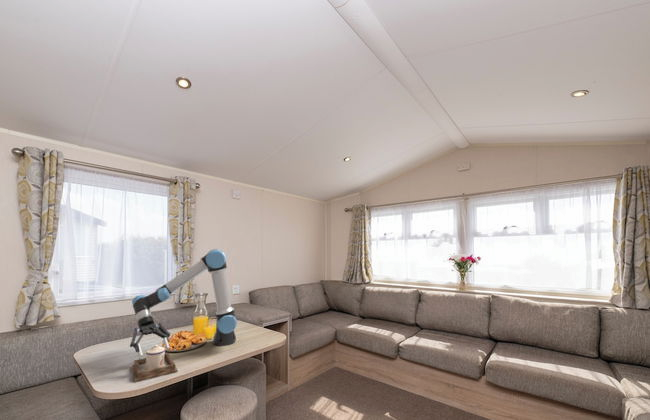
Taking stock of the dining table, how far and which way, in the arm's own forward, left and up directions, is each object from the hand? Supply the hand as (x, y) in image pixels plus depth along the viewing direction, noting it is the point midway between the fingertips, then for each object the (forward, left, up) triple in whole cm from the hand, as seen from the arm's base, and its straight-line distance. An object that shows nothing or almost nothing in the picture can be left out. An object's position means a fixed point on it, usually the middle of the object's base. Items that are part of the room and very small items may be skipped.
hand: (154, 352), depth 159 cm
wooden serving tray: (0, 0, -9) cm, 9 cm away
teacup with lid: (0, 0, -8) cm, 8 cm away
